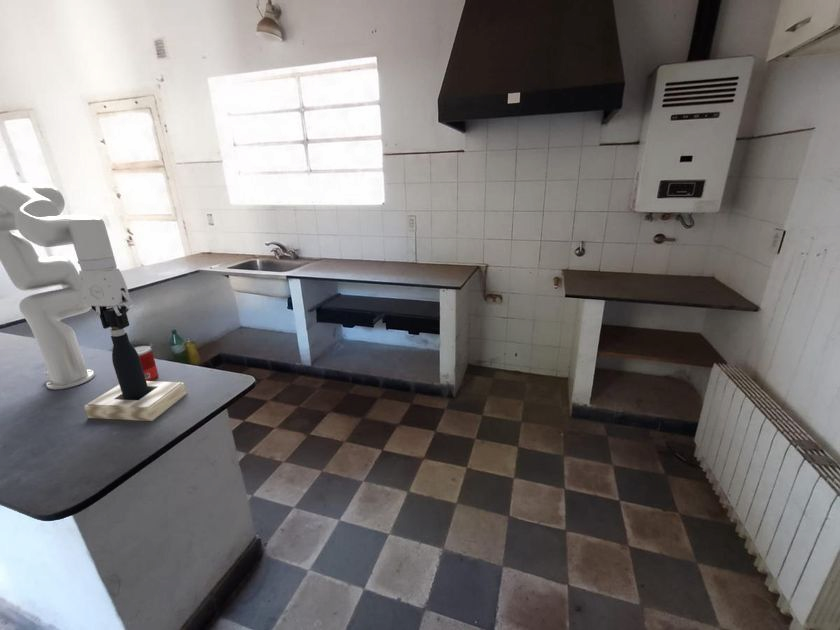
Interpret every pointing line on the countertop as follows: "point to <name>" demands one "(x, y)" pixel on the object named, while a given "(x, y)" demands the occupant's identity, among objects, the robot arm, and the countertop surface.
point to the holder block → (136, 402)
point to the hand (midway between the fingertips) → (116, 326)
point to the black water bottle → (126, 361)
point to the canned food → (147, 362)
